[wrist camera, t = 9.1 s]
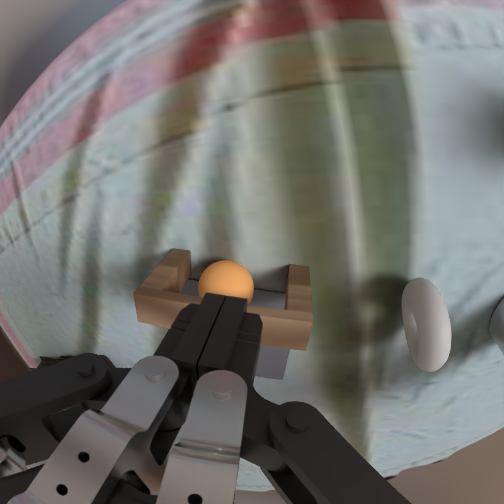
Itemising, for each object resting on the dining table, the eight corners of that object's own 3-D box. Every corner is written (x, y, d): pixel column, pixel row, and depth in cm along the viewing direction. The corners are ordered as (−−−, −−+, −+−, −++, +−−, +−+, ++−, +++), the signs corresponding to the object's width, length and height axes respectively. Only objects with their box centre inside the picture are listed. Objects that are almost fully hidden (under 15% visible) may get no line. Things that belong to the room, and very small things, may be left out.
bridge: (173, 248, 30) (133, 293, 22) (308, 266, 29) (313, 322, 21) (174, 272, 32) (138, 321, 23) (304, 291, 30) (305, 350, 22)
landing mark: (301, 294, 31) (301, 295, 30) (282, 378, 36) (282, 379, 36) (176, 276, 32) (175, 277, 32) (183, 361, 38) (183, 362, 38)
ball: (244, 332, 27) (249, 299, 32) (258, 288, 25) (261, 257, 30) (189, 319, 27) (201, 287, 32) (195, 272, 24) (208, 245, 29)
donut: (393, 265, 28) (426, 323, 19) (421, 257, 27) (462, 310, 18) (399, 334, 31) (420, 394, 22) (423, 326, 30) (450, 384, 21)
